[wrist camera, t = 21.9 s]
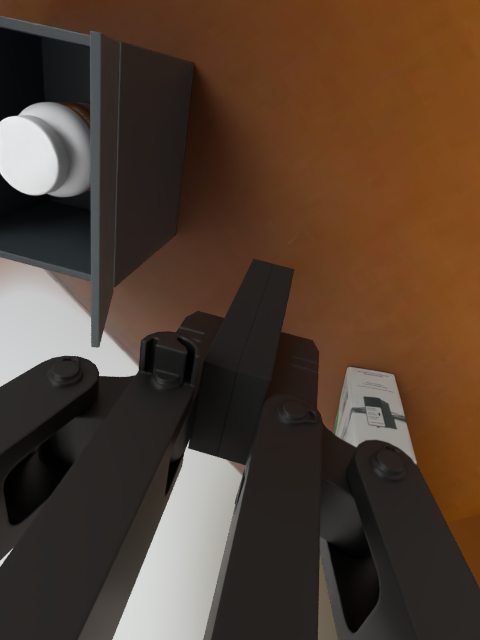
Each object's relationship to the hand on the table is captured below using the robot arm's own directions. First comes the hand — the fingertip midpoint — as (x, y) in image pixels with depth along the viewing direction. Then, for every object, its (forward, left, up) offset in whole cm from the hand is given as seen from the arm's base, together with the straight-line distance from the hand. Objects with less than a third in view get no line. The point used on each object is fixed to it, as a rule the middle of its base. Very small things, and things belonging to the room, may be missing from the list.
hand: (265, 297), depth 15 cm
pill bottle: (0, -17, -22) cm, 27 cm away
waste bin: (0, -17, -22) cm, 28 cm away
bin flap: (0, -9, -6) cm, 11 cm away
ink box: (+20, +12, -22) cm, 32 cm away
